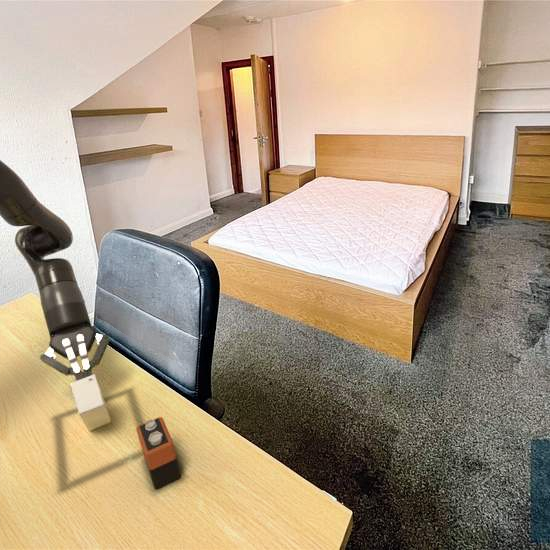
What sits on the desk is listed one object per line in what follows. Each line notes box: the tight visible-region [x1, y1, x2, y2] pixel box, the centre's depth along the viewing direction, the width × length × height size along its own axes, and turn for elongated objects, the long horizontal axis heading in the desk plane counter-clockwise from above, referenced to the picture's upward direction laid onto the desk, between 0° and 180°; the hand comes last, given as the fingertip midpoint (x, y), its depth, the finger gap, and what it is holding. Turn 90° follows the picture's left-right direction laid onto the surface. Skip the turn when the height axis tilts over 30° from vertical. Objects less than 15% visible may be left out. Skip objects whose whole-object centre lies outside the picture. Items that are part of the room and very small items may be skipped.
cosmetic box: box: [69, 373, 112, 432], centre depth 74 cm, size 6×4×12 cm
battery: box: [136, 416, 182, 491], centre depth 66 cm, size 4×7×10 cm, turn 29°
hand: (88, 391), depth 77 cm, fingers closed
